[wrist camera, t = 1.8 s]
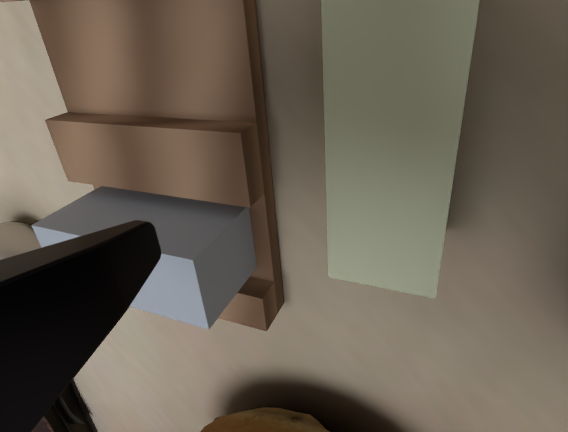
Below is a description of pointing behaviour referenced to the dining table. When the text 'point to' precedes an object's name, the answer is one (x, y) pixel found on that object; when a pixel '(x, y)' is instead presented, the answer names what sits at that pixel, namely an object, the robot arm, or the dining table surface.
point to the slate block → (170, 247)
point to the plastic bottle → (17, 239)
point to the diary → (67, 414)
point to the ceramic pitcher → (265, 422)
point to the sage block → (392, 135)
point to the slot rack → (169, 113)
